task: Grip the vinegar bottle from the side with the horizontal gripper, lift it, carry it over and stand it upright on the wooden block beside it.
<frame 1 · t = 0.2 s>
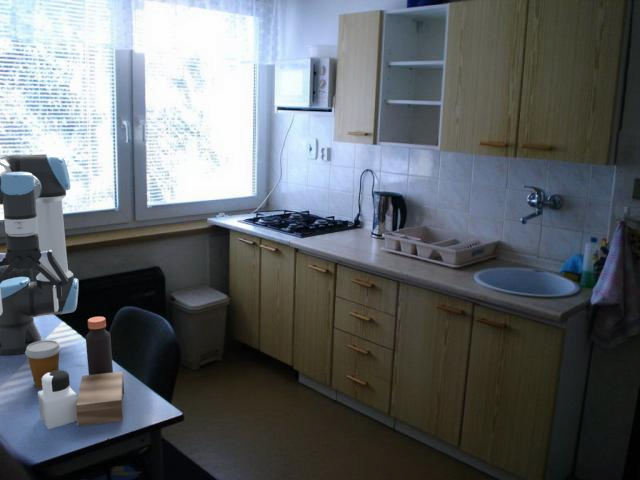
hand: (28, 312, 163), 28 cm above the table, tool pointing down, fingers open, 13 cm apart
wooden block: (102, 407, 170), on the table
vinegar: (101, 383, 185), on the table
disposable coffee cup: (46, 384, 184), on the table
container: (59, 420, 164), on the table
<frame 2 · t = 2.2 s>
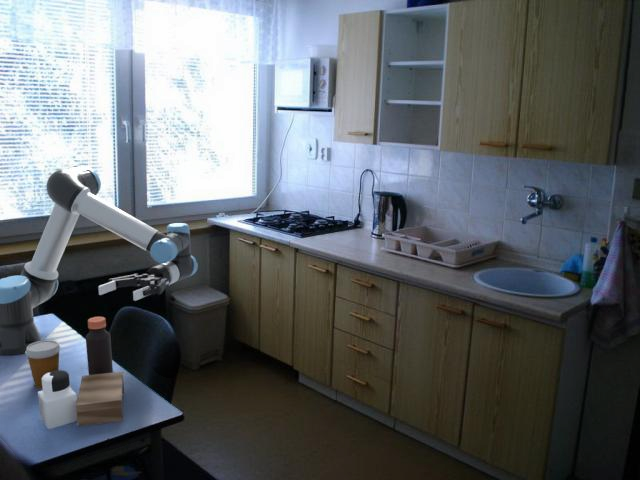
hand: (116, 293, 187), 25 cm above the table, tool horizontal, fingers open, 13 cm apart
nothing on the table moved.
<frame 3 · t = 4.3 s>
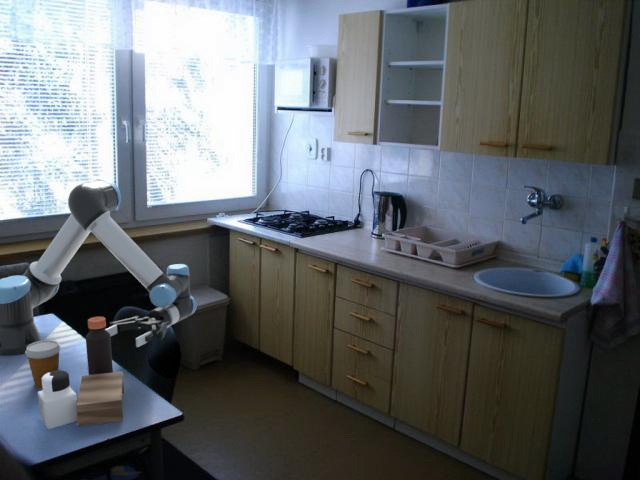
hand: (118, 339, 189), 11 cm above the table, tool horizontal, fingers open, 13 cm apart
nothing on the table moved.
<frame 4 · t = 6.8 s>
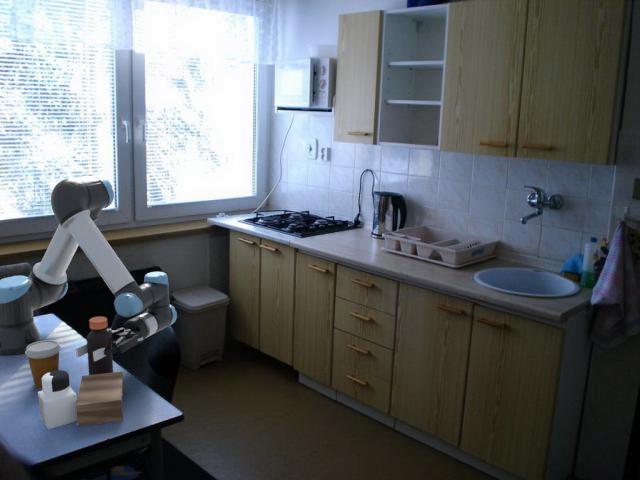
hand: (85, 354, 178), 11 cm above the table, tool horizontal, fingers closed on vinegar, 6 cm apart
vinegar: (101, 383, 185), on the table, touching gripper
everything else where it was.
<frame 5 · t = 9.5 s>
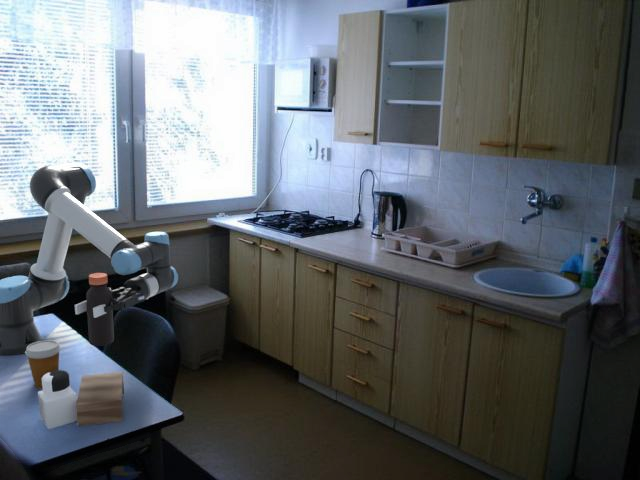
hand: (85, 311, 171), 25 cm above the table, tool horizontal, fingers closed on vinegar, 6 cm apart
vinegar: (101, 342, 178), point 14 cm above the table, touching gripper
everything else where it was.
when the fingers open (18 cm above the table, at t = 12.1 s): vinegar drops 2 cm, resting on wooden block.
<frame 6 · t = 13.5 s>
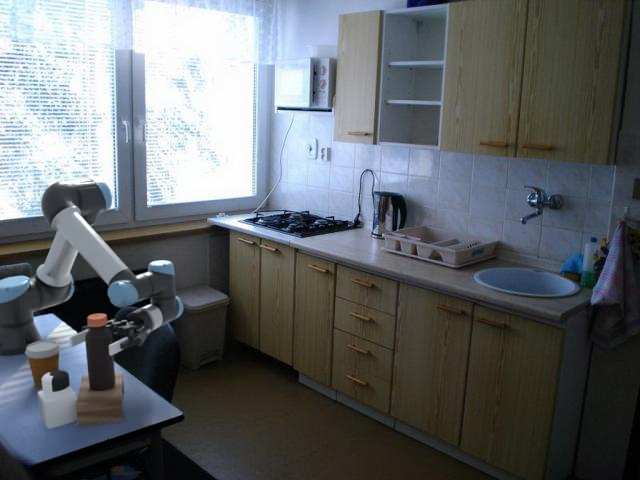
hand: (90, 346, 164), 19 cm above the table, tool horizontal, fingers open, 13 cm apart
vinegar: (102, 386, 169), point 6 cm above the table, touching wooden block
everything else where it was.
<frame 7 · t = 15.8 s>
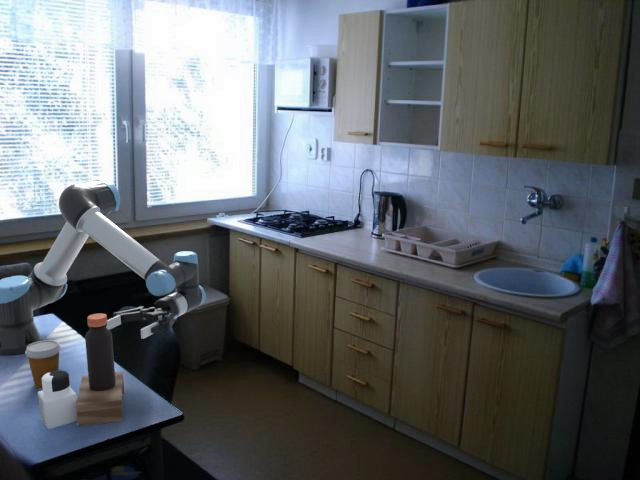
hand: (122, 330, 175), 19 cm above the table, tool horizontal, fingers open, 13 cm apart
nothing on the table moved.
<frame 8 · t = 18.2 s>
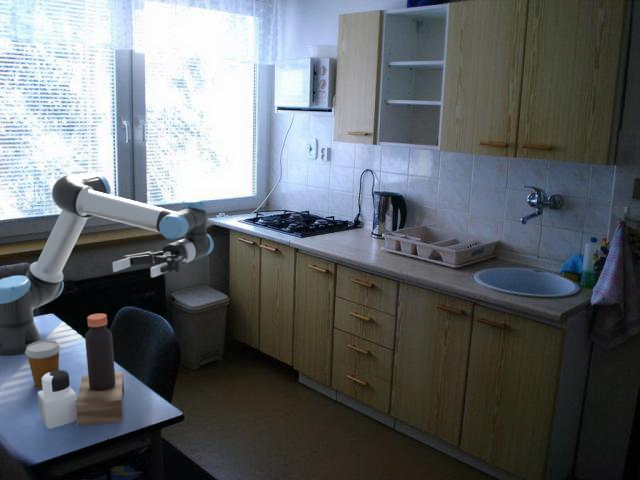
hand: (132, 269, 176), 35 cm above the table, tool horizontal, fingers open, 13 cm apart
nothing on the table moved.
at the end: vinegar inside the target area (0.6 cm from its centre), point 5.8 cm above the table; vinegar tilted 0°; the gripper is holding nothing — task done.
